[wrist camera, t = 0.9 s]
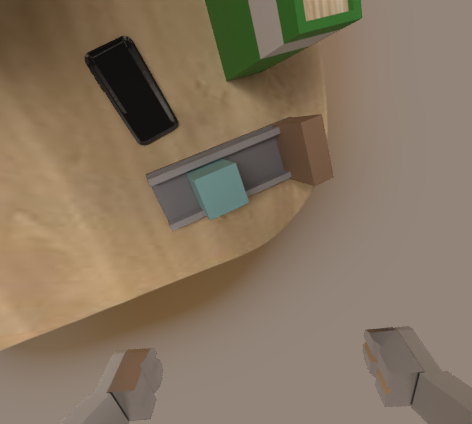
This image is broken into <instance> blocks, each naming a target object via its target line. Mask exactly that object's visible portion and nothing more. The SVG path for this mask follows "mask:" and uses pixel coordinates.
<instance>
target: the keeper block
mask: <svg viewBox="0 0 472 424" xmlns="http://www.w3.org/2000/svg"><path fill="white" fill-rule="evenodd" d="M185 173H186V175H187V177H188V180H189V182H190V184H191V187H192V189H193V191H194V194H195V196H196V198H197V201H198V203H199V206H200V207H201V208H202V210H203V211H204V212H205V214H206V215H207V216H208V218H209V219H210V220H213V219H215V218H217V217H219V216H222V215H224V214H226V213H228V212H230V211H232V210H235V209H237V208H239V207H241V206H243V205H246V204H248V203H249V201H248V198H247V195H246V192H245V189H244V186H243V183H242V180H241V177H240V174H239V171H238V168H237V165H236V163H235V162H231V161H228V160H225V159H222V158H219V159H217V160H214V161H212V162H210V163H207V164H205V165H202V166H200V167H197V168H195V169H193V170H190V171H188V172H185Z"/></svg>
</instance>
